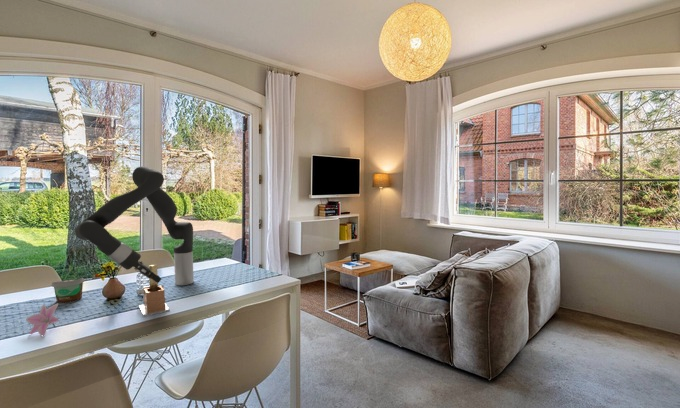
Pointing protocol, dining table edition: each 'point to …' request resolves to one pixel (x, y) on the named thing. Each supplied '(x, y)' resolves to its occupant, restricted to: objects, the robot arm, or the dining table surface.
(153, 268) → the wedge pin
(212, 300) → the dining table surface
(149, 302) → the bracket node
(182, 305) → the dining table surface
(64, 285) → the food container
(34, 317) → the lily
